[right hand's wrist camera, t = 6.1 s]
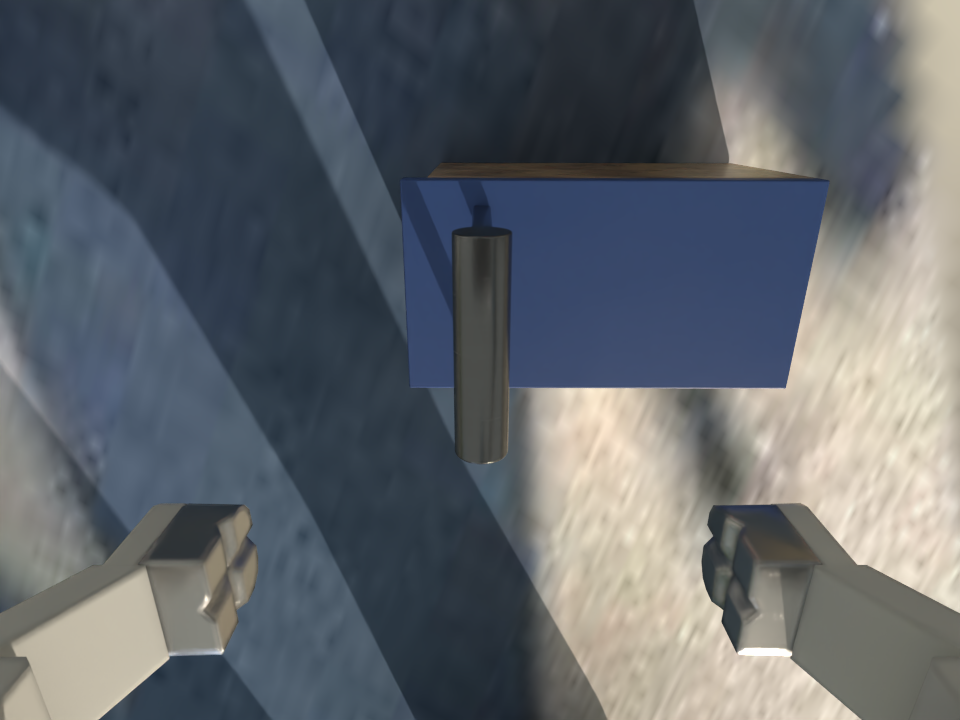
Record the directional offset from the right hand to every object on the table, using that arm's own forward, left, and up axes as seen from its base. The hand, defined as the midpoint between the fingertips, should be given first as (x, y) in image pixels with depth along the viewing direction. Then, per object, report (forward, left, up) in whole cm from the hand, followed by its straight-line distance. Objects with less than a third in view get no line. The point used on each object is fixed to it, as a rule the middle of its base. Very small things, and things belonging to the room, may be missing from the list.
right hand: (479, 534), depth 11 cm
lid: (+2, +5, -17) cm, 18 cm away
